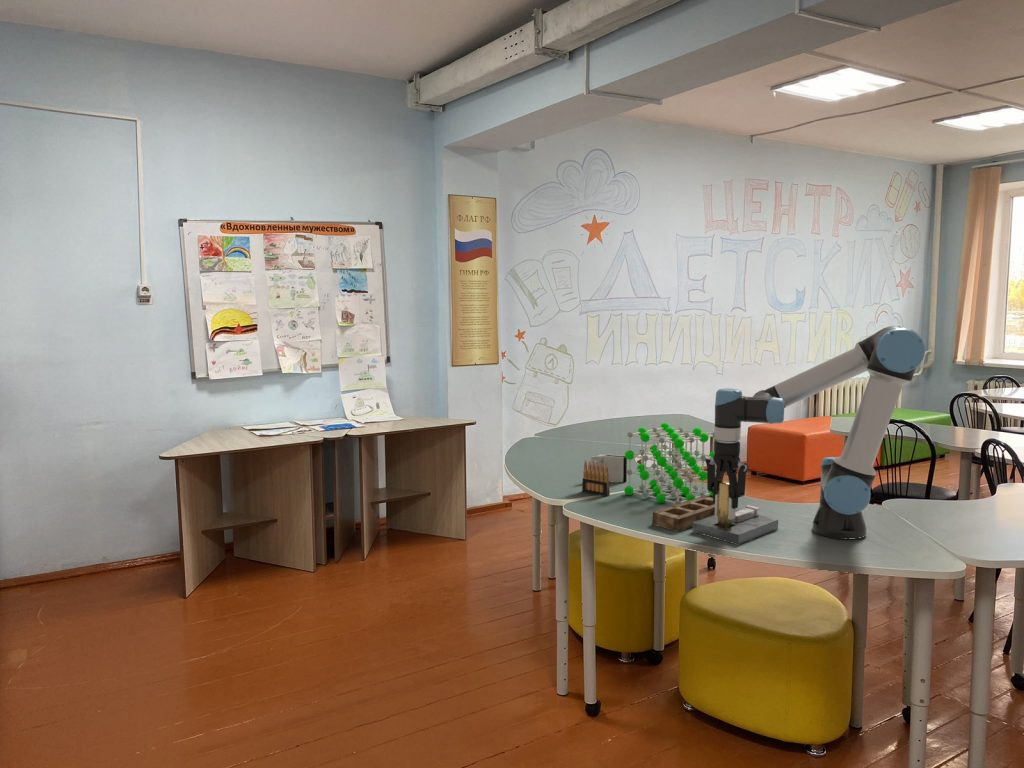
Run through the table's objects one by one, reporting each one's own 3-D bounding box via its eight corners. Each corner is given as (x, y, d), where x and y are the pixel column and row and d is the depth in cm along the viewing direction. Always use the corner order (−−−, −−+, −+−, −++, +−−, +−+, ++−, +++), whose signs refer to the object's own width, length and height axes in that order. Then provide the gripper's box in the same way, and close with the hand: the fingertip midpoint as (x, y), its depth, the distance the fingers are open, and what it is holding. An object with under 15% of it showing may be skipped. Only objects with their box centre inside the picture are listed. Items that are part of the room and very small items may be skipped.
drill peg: (733, 534, 229) (735, 483, 227) (726, 537, 226) (728, 485, 224) (722, 531, 232) (723, 480, 230) (714, 534, 229) (716, 482, 227)
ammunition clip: (581, 491, 278) (582, 460, 277) (584, 490, 280) (584, 459, 278) (607, 496, 272) (607, 464, 271) (609, 495, 273) (610, 463, 272)
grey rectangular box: (590, 482, 293) (590, 456, 291) (590, 479, 298) (590, 454, 297) (626, 483, 291) (627, 457, 290) (626, 479, 296) (626, 454, 295)
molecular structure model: (679, 509, 256) (680, 439, 253) (622, 495, 274) (622, 429, 271) (719, 496, 271) (721, 430, 269) (663, 483, 290) (664, 421, 287)
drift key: (759, 515, 237) (759, 507, 237) (739, 523, 230) (739, 515, 230) (748, 512, 240) (748, 505, 240) (727, 520, 233) (727, 512, 233)
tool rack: (729, 513, 250) (730, 502, 250) (678, 531, 232) (678, 519, 231) (704, 507, 257) (704, 496, 257) (652, 524, 239) (652, 512, 239)
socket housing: (777, 529, 234) (778, 519, 234) (738, 544, 219) (738, 534, 219) (732, 517, 246) (732, 508, 245) (692, 531, 231) (692, 522, 231)
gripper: (759, 443, 221) (757, 520, 224) (710, 435, 234) (708, 508, 237) (745, 446, 216) (743, 525, 219) (695, 438, 229) (693, 513, 232)
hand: (724, 516), depth 228 cm, fingers closed on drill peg, 4 cm apart
